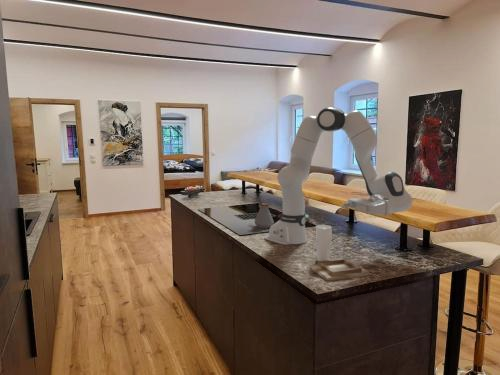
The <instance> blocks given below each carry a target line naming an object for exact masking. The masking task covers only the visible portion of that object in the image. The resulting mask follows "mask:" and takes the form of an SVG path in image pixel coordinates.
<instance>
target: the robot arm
mask: <svg viewBox="0 0 500 375" xmlns="http://www.w3.org/2000/svg"><path fill="white" fill-rule="evenodd" d="M339 130H342V131H344V132H345V134H346V136H347V137H348V139H349V141H350V143H351V145H352V148H353V150H354V158H355V160H356V163H357V165H358V168H359V170H360V172H361V175H362V177H363V179H364V183H365V188H366V191H367V194H368V195H369V198H368V199H367V198H361V197H360V198H359V197H358V198H357V197H356V198H348V199H347V202H343V204H342V207H343V208H346V209H347V208H352V209H353V210H354V211H355V212H364V213H368V214H371V215H374V216H377V215H378V216H380V215H381V216H382V215H383V216H390V215H391V214H396V213H402V212H406V211H408V210H409V209H410V208H411V206H413V205H412V204H413V197H412V195H411V194H410V193H409V192H408V191H407V190H406V188H405V185H404V182H403V179H402V176H401V175H400V174H399V173H397V172H394V171H390V172H387V173H384V174H382V175H378V174H377V171H376V170H375V167H374V165H373V162H372V154H373V152H374V150H375V148H376V146H377V144H378V137H377V134H376V131H375V130H374V128H373V126H372V124H371V123H370V122H369V120H368V118H367V117H366V116H365V115H364V114H363V113H362V111H360V110H351V111H349V112H346V113H345V112H344V111H343V110H342V109H340V108H337V107H332V106H331V107H330V106H329V107H324V108H323V109H322V110H320V111H319V112H318V114H317V116H315V115H307V116H305V117H304V118H303V120H302V121H301V123H300V125H299V127H298V129H297V132H296V135H295V137H294V140H293V143H292V146H291V149H290V160H289V164H288V165H286V166H284V167H282V168H281V169H280V170H279V171H278V173H277V178H276V179H277V182H278V184H279V186H280V191H281V197H282V213H280V214H278V216H277V217H278V218H279V220H278V221H276V222H274V223H273V225H272V226H271V227H270V228H269V230H268V234H266V235H264V240H267V241H269V242H270V241H271V242H273V243H276V244H279V245H283V246H287V245H303V244H306V243H307V242H308V237H307V233H306V232H307V231H306V222H305V214H306V212H305V211H306V210H305V202H306V201H305V200H306V199H305V195H304V193H303V186H302V185H304V183H306V182H307V181H308V179H309V177H310V170H311V166H312V160H313V157H314V153H315V152H316V148H317V146H318V142H319V140H320V137H321V135H322V133H323V132H329V133H330V132H331V133H332V132H336V131H339Z"/></svg>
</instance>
